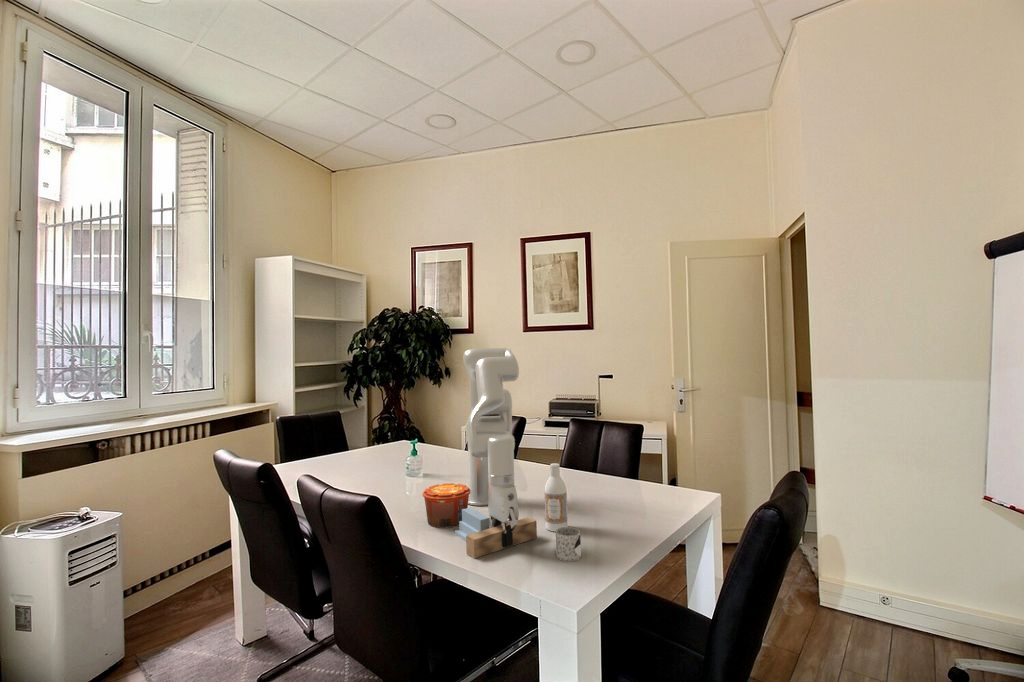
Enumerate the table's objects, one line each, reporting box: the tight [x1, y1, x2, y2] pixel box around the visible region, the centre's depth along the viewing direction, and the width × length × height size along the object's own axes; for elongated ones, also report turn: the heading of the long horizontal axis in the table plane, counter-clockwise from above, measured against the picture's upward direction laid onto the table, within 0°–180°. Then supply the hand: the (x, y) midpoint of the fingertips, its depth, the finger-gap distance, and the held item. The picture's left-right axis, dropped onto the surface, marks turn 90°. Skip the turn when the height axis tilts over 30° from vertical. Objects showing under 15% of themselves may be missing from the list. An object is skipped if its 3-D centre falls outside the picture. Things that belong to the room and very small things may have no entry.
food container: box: [422, 482, 471, 529], centre depth 159 cm, size 16×16×11 cm
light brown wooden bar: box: [465, 516, 538, 559], centre depth 137 cm, size 22×4×5 cm, turn 127°
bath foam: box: [544, 462, 569, 533], centre depth 150 cm, size 7×7×20 cm
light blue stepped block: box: [454, 507, 491, 541], centre depth 144 cm, size 8×12×7 cm, turn 33°
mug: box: [555, 526, 582, 562], centre depth 131 cm, size 10×7×7 cm, turn 171°
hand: (502, 542), depth 137 cm, fingers closed on light brown wooden bar, 4 cm apart
